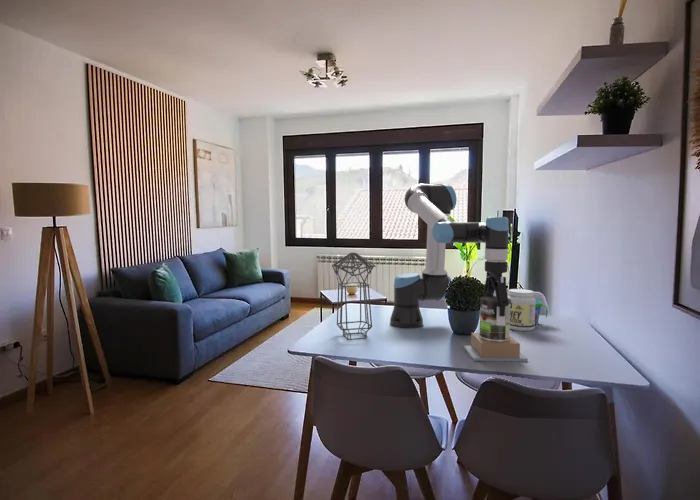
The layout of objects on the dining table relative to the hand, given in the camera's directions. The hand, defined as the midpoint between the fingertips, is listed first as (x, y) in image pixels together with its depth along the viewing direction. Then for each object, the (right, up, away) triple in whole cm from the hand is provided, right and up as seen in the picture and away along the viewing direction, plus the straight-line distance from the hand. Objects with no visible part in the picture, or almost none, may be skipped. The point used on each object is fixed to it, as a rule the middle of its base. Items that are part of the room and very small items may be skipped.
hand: (494, 320), depth 143 cm
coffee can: (0, -6, 0) cm, 6 cm away
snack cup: (+33, -10, +47) cm, 58 cm away
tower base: (0, -12, +1) cm, 12 cm away
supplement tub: (+25, -10, +37) cm, 46 cm away
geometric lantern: (-50, -11, +25) cm, 57 cm away
